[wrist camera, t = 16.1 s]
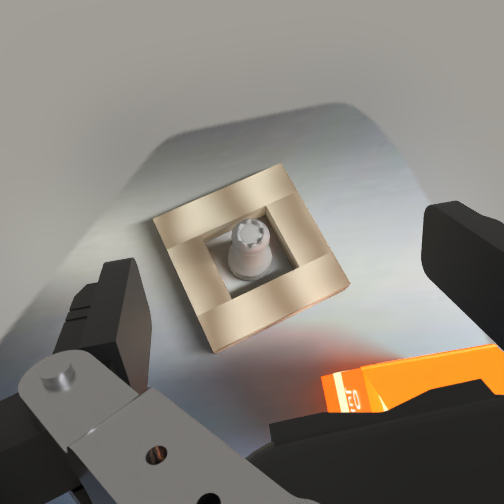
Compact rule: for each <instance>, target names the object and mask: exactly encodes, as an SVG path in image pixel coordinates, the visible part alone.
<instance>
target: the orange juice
mask: <svg viewBox="0 0 504 504" xmlns="http://www.w3.org/2000/svg"><path fill="white" fill-rule="evenodd" d="M480 378H481V379H482V380H483V381H484V383H485V384H486V385H487V386H488V387H489V388H490V389H491V390H492V392H493V393H494V394H502V395H504V352H502V351H501V350H500V349H499V348H497V345H496V344H495V345H493V344H488V345H482V346H476V347H471V348H465V349H459V350H453V351H448V352H442V353H439V352H438V353H436V354H429V355H425V356H419V357H412V358H406V359H402V360H395V361H389V362H384V363H382V362H381V363H379V364H373V365H367V366H361V368H358V369H354V370H348V371H342V372H337V373H333V374H330V375H326V376H321V379H322V384H323V389H324V394H325V399H326V404H327V408H328V412H384V411H387V410H389V409H391V408H393V407H395V406H397V405H399V404H401V403H403V402H405V401H407V400H410V399H412V398H414V397H416V396H418V395H420V394H422V393H424V392H426V391H428V390H430V389H434V388H438V387H443V386H448V385H452V384H457V383H462V382H466V381H471V380H476V379H480Z"/></svg>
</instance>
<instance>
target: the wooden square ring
mask: <svg viewBox="0 0 504 504" xmlns="http://www.w3.org/2000/svg"><path fill="white" fill-rule="evenodd" d="M264 215H265V216H266V218H267V220H268V222H269V224H270V226H271V228H272V229H273V231H274V233H275V235H276V237H277V239H278V241H279V242H280V244H281V246H282V248H283V250H284V252H285V254H286V255H287V257H288V259H289V261H290V263H291V265H292V267H293V268H294V270H293V271H291V272H288V273H286V274H284V275H282V276H280V277H278V278H276V279H274V280H272V281H270V282H267V283H265V284H263V285H261V286H259V287H257V288H255V289H253V290H251V291H249V292H247V293H244V294H242V295H240V296H238V297H236V298H234V299H232V298H231V296H230V294H229V292H228V290H227V288H226V286H225V284H224V282H223V279H222V277H221V275H220V273H219V271H218V269H217V267H216V265H215V263H214V261H213V259H212V257H211V255H210V253H209V251H208V249H207V247H206V244H205V242H207V241H209V240H211V239H213V238H215V237H218V236H220V235H222V234H224V233H226V232H229V231H231V230H233V229H234V227H235V226H236V224H237V223H239V222H241V221H242V220H245V219H249V218H251V219H257V218H260V217H262V216H264ZM153 221H154V223H155V225H156V227H157V229H158V232H159V234H160V236H161V238H162V240H163V243H164V245H165V247H166V249H167V251H168V254H169V256H170V258H171V260H172V262H173V265H174V267H175V269H176V271H177V273H178V276H179V278H180V280H181V282H182V284H183V286H184V289H185V291H186V293H187V295H188V297H189V300H190V302H191V304H192V306H193V308H194V311H195V313H196V315H197V317H198V319H199V322H200V324H201V326H202V328H203V330H204V333H205V335H206V337H207V339H208V341H209V343H210V346H211V348H212V350H213V352H214V353H215V354H217V353H219V352H221V351H223V350H225V349H227V348H229V347H231V346H233V345H235V344H237V343H239V342H241V341H243V340H245V339H247V338H249V337H251V336H253V335H255V334H257V333H259V332H261V331H263V330H265V329H267V328H269V327H271V326H273V325H275V324H277V323H279V322H281V321H283V320H285V319H287V318H289V317H291V316H293V315H295V314H297V313H299V312H301V311H303V310H305V309H307V308H309V307H311V306H313V305H315V304H317V303H319V302H321V301H323V300H325V299H327V298H329V297H331V296H333V295H336V294H338V293H340V292H342V291H344V290H345V289H346V288H347V287H348V286H349V285H350V282H349V280H348V278H347V277H346V275H345V273H344V271H343V270H342V268H341V266H340V264H339V263H338V261H337V259H336V258H335V256H334V254H333V252H332V251H331V249H330V247H329V245H328V244H327V242H326V240H325V238H324V237H323V235H322V233H321V231H320V230H319V228H318V226H317V224H316V223H315V221H314V219H313V217H312V216H311V214H310V212H309V210H308V209H307V207H306V205H305V203H304V202H303V200H302V198H301V197H300V195H299V193H298V191H297V190H296V188H295V186H294V184H293V183H292V181H291V179H290V177H289V176H288V174H287V172H286V170H285V169H284V167H283V165H282V163H280V164H278V165H275V166H273V167H271V168H268V169H266V170H264V171H262V172H259V173H257V174H255V175H252V176H250V177H248V178H245V179H243V180H241V181H238V182H236V183H234V184H232V185H229V186H227V187H225V188H222V189H220V190H218V191H215V192H213V193H211V194H208V195H206V196H204V197H202V198H199V199H197V200H195V201H192V202H190V203H188V204H185V205H183V206H181V207H179V208H176V209H174V210H172V211H169V212H167V213H165V214H162V215H160V216H158V217H155V218H153Z"/></svg>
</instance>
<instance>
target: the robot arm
mask: <svg viewBox="0 0 504 504" xmlns="http://www.w3.org/2000/svg"><path fill="white" fill-rule="evenodd" d="M421 262H422V266H423V269H424V272H425V274H426V275H427V277H428V278H429V279H430V280H431V281H432V282H433V283H434V284H435V285H436V286H437V287H438V288H439V289H440V290H442V291H443V292H444V293H445V294H446V295H447V296H448V297H449V298H450V299H451V300H452V301H453V302H454V303H455V304H456V305H457V306H458V307H459V308H460V309H461V310H462V311H463V312H464V313H465V314H466V315H467V316H468V317H469V318H470V319H471V320H473V321H474V322H475V323H476V324H477V325H478V326H479V327H480V328H481V329H482V330H483V331H484V332H485V333H486V334H487V335H488V336H489V337H490V338H491V339H492V340H493V341H494V342H495V343H496V344H497V345H498V346H499V347H500V348H501V349H503V350H504V224H503V223H502V222H500V221H498V220H496V219H493V218H489V217H486V216H483V215H481V214H479V213H477V212H476V211H474V210H472V209H470V208H469V207H467V206H465V205H464V204H462V203H460V202H459V201H451V202H445V203H439V204H434V205H429V206H428V207H427V208H426V209H425V212H424V221H423V235H422V250H421ZM151 333H152V323H151V315H150V310H149V306H148V302H147V299H146V295H145V292H144V288H143V284H142V281H141V277H140V274H139V270H138V267H137V264H136V261H135V259H134V258H127V259H122V260H116V261H110V262H105V263H104V264H103V268H102V271H101V274H100V277H99V281H98V282H97V283H92V284H87V285H86V286H85V287H84V288H83V289H82V290H81V291H80V292H79V293H78V294H77V295H76V296H75V297H74V299H73V302H72V304H71V307H70V312H68V315H67V317H66V323H64V325H63V328H62V331H61V333H60V336H59V338H58V341H57V344H56V346H55V349H54V352H53V354H52V355H51V356H48V357H47V358H45V359H43V360H41V361H39V362H38V363H36V364H35V365H34V366H33V367H31V368H30V369H29V370H28V371H27V372H26V373H25V375H24V376H23V377H22V379H21V381H20V383H19V387H18V393H17V394H15V395H13V396H11V397H8V398H6V399H4V400H1V401H0V504H45V503H47V502H49V501H51V500H53V499H55V498H57V497H59V496H61V495H62V494H64V493H66V492H69V494H70V495H71V496H72V498H73V499H74V501H75V502H76V503H77V504H504V395H502V394H494V393H493V392H492V390H491V389H490V388H489V387H488V386H487V385H486V384H485V383H484V381H483V380H482V379H481V378H480V379H476V380H471V381H466V382H462V383H457V384H452V385H448V386H443V387H438V388H434V389H430V390H428V391H426V392H424V393H422V394H420V395H418V396H416V397H414V398H412V399H410V400H407V401H405V402H403V403H401V404H399V405H397V406H395V407H393V408H391V409H389V410H387V411H384V412H322V413H318V414H313V415H309V416H304V417H299V418H295V419H290V420H285V421H281V422H276V423H271V424H269V427H270V434H271V441H272V442H270V443H268V444H266V445H264V446H263V447H261V448H259V449H258V450H256V451H255V452H253V453H251V454H250V455H249V456H248V457H246V458H244V457H242V456H241V455H240V454H238V453H237V452H236V451H235V450H233V449H232V448H231V447H230V446H228V445H227V444H226V443H224V442H223V441H222V440H221V439H219V438H218V437H217V436H216V435H214V434H213V433H212V432H210V431H209V430H208V429H207V428H205V427H204V426H203V425H201V424H200V423H199V422H198V421H196V420H195V419H194V418H193V417H191V416H190V415H189V414H187V413H186V412H185V411H184V410H182V409H181V408H180V407H179V406H177V405H176V404H175V403H173V402H172V401H171V400H170V399H168V398H167V397H166V396H165V395H163V394H162V393H161V392H159V391H158V390H156V389H154V388H148V389H147V384H148V371H149V358H150V345H151Z"/></svg>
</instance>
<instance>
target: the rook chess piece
mask: <svg viewBox="0 0 504 504" xmlns="http://www.w3.org/2000/svg"><path fill="white" fill-rule="evenodd" d="M231 237H232V242H233V244H232V246H231V247H230V248H229V253H228V259H227V260H228V265H229V268H230V270H231V271H232V273H233V274H234V275H235V276H237V277H238V278H240V279H242V280H247V281H253V280H258V279H260V278H262V277H263V276H265V275H266V274H267V273H268V271H269V270H270V268H271V265H272V253H271V249H270V247H269V246H268V244H269V240H270V234H269V229H268V228H267V227H266V225H265V224H264V223H262V222H261V221H259V220H257V219H251V218H249V219H245V220H242V221H241V222H239V223H237V224H236V226H235V227H234V229H233V231H232V236H231Z"/></svg>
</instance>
